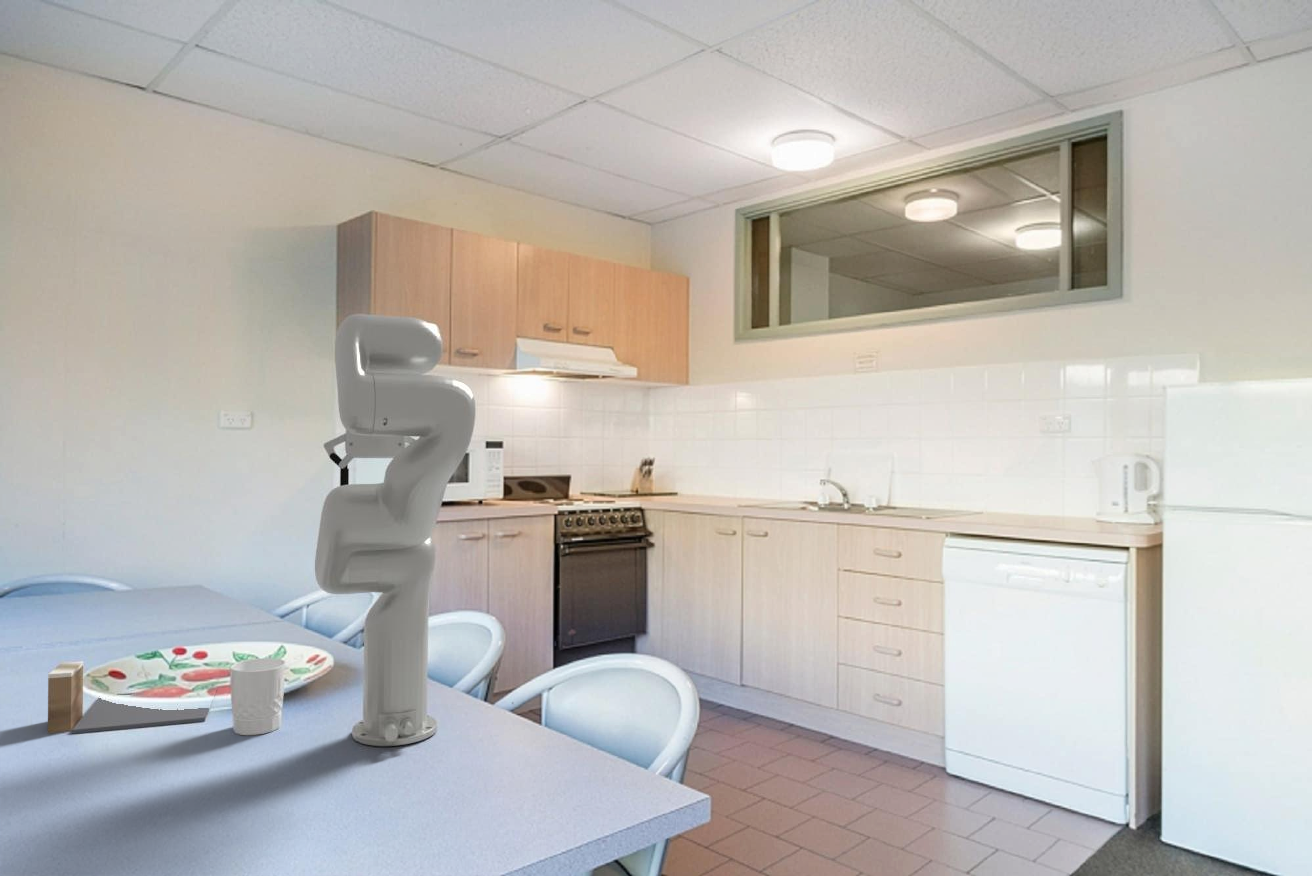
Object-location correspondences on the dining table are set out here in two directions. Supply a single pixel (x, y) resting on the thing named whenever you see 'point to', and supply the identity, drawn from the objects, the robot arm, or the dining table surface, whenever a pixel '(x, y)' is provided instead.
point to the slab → (65, 697)
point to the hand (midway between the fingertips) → (374, 490)
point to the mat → (133, 717)
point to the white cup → (257, 695)
